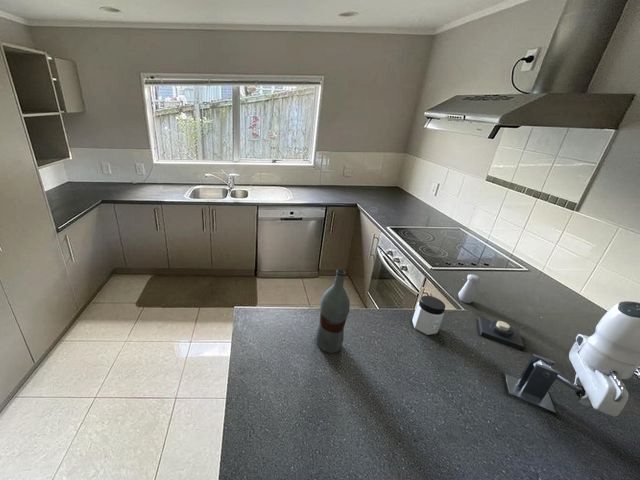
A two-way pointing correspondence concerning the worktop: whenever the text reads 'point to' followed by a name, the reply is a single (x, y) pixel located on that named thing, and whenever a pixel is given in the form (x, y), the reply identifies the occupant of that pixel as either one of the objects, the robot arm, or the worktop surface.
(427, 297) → the jar
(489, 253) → the worktop surface
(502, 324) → the button
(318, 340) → the bottle
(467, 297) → the salt shaker
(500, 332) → the button housing
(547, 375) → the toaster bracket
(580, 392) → the toaster lever
